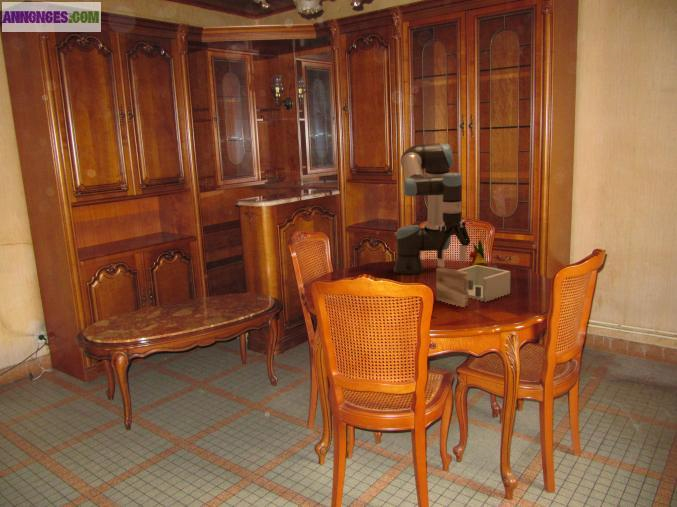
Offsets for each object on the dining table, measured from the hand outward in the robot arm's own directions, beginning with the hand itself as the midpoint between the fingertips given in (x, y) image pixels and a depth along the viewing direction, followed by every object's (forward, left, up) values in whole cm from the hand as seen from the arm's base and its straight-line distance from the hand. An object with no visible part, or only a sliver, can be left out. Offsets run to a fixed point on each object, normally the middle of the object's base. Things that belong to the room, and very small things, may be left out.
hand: (452, 263), depth 236 cm
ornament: (-29, +53, -17) cm, 63 cm away
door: (0, 0, -17) cm, 17 cm away
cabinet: (0, +19, -17) cm, 26 cm away
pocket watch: (-6, +40, -17) cm, 44 cm away
